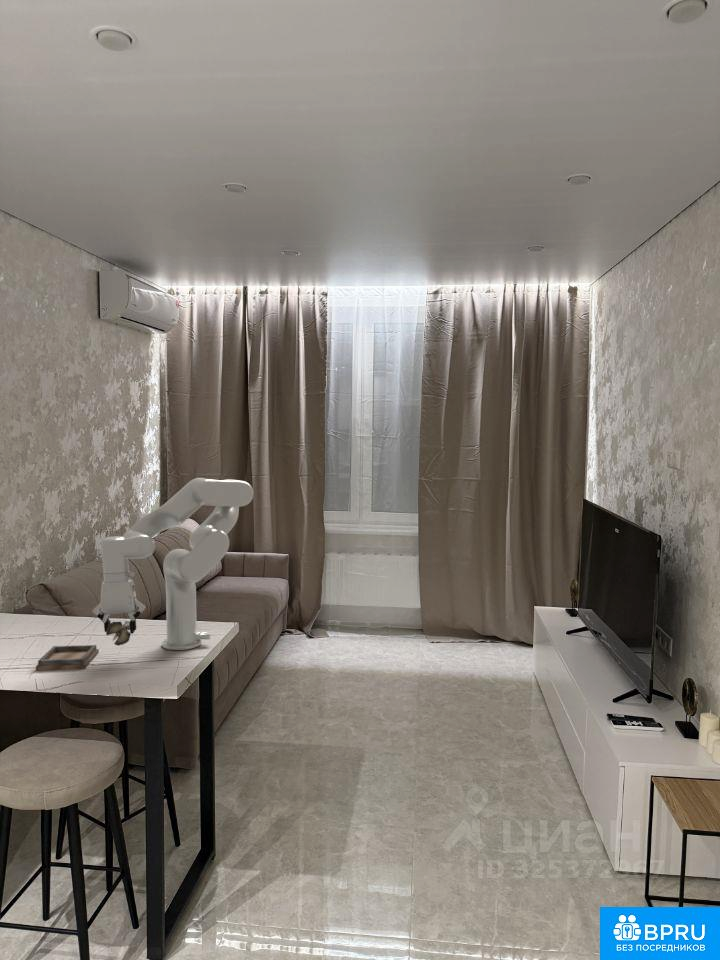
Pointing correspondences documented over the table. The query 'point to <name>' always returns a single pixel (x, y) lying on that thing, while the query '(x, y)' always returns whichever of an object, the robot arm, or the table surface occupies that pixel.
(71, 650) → the wooden tray
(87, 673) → the table surface
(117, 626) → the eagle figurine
